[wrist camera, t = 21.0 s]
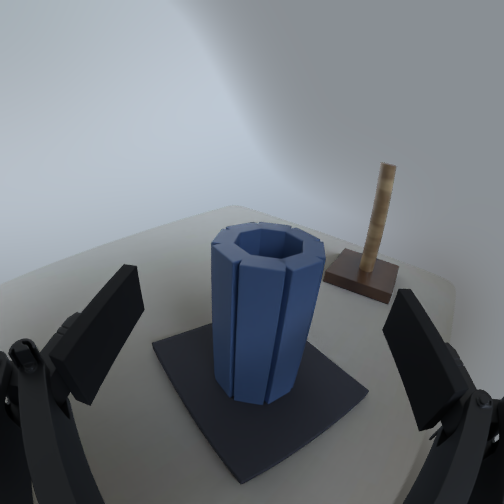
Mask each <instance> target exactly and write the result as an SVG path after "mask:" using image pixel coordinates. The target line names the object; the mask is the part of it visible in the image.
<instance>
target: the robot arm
mask: <svg viewBox="0 0 504 504" xmlns="http://www.w3.org/2000/svg"><path fill="white" fill-rule="evenodd" d="M144 310H145V309H144V304H143V299H142V294H141V288H140V283H139V277H138V271H137V266H133V265H125V264H124V265H123V266H122V267H121V268H120V269H119V270H118V271H117V272H116V273H115V275H114V276H113V277H112V278H111V279H110V280H109V281H108V282H107V283H106V285H105V286H104V287H103V288H102V289H101V290H100V291H99V293H98V294H97V295H96V296H95V297H94V298H93V299H92V301H91V302H90V303H89V304H88V305H87V307H86V308H85V309H84V310H83V311H82V312H81V313H78V312H76V313H75V314H73V315H72V316H70V317H68V318H67V319H66V321H65V322H64V323H63V324H62V327H60V328H59V329H58V330H57V333H55V334H54V335H53V337H52V338H51V339H50V340H49V342H48V343H47V344H46V346H45V347H44V348H43V349H42V351H41V352H40V353H39V351H38V349H37V347H36V345H35V343H34V342H33V341H32V340H30V339H21V340H18V341H16V342H15V343H14V344H13V345H12V346H11V348H10V349H9V353H8V354H9V356H10V358H11V359H12V361H10V360H9V359H8V357H7V355H6V354H5V353H4V352H2V351H0V504H33V495H32V484H33V487H34V491H35V494H36V497H37V500H38V503H39V504H105V503H104V500H103V498H102V496H101V494H100V492H99V490H98V487H97V485H96V483H95V480H94V478H93V475H92V473H91V470H90V468H89V465H88V462H87V459H86V457H85V454H84V451H83V448H82V445H81V441H80V438H79V435H78V431H77V428H76V424H75V421H74V417H73V413H72V409H71V404H70V401H69V399H68V395H69V394H70V392H71V393H72V395H73V396H74V398H75V399H76V400H78V401H80V402H82V403H85V404H87V405H90V406H91V404H92V402H93V400H94V398H95V396H96V394H97V392H98V390H99V388H100V386H101V385H102V383H103V381H104V379H105V377H106V375H107V373H108V372H109V370H110V368H111V366H112V364H113V363H114V361H115V359H116V357H117V356H118V354H119V352H120V350H121V349H122V347H123V345H124V343H125V342H126V340H127V338H128V337H129V335H130V333H131V331H132V330H133V328H134V326H135V325H136V323H137V321H138V320H139V318H140V316H141V315H142V313H143V312H144ZM382 331H383V333H384V335H385V338H386V340H387V343H388V345H389V348H390V350H391V353H392V355H393V358H394V360H395V363H396V365H397V368H398V371H399V373H400V376H401V379H402V381H403V384H404V387H405V390H406V393H407V396H408V398H409V401H410V404H411V407H412V410H413V414H414V417H415V420H416V423H417V426H418V430H419V431H423V430H427V429H431V428H433V427H434V426H435V425H436V424H437V423H438V422H439V421H440V420H441V423H442V426H441V427H440V428H439V429H438V430H437V431H436V432H435V433H434V434H433V435H432V436H431V437H430V439H429V440H432V439H433V438H434V437H435V436H436V438H435V440H434V443H433V445H432V447H431V450H430V452H429V454H428V456H427V459H426V461H425V463H424V465H423V467H422V469H421V471H420V473H419V475H418V477H417V479H416V481H415V483H414V485H413V487H412V488H411V490H410V492H409V494H408V495H407V497H406V499H405V500H404V502H403V504H504V397H503V398H502V399H501V400H498V399H492V398H491V396H490V395H489V394H488V393H487V392H486V391H484V390H477V389H476V387H475V385H474V384H473V381H472V379H471V378H470V375H469V374H468V372H467V370H466V368H465V366H463V363H462V361H461V360H460V357H459V355H458V354H457V352H456V350H455V349H454V348H453V347H452V346H451V345H450V344H449V343H444V341H443V339H442V337H441V336H440V334H439V332H438V331H437V329H436V327H435V326H434V324H433V323H432V321H431V319H430V318H429V316H428V315H427V313H426V312H425V310H424V308H423V307H422V305H421V304H420V302H419V301H418V299H417V298H416V296H415V295H414V293H413V292H412V290H411V289H398V292H397V295H396V298H395V300H394V303H393V305H392V308H391V310H390V313H389V315H388V318H387V320H386V322H385V325H384V327H383V329H382ZM6 397H7V398H8V402H7V404H6V403H5V399H6ZM498 434H499V440H498V441H496V442H495V440H494V437H495V436H496V435H498ZM31 480H32V483H31Z"/></svg>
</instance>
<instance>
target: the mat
mask: <svg viewBox="0 0 504 504" xmlns="http://www.w3.org/2000/svg"><path fill="white" fill-rule="evenodd" d="M152 345H153V349H154V351H155V353H156V355H157V357H158V359H159V361H160V363H161V365H162V366H163V368H164V370H165V372H166V374H167V376H168V377H169V379H170V381H171V383H172V385H173V386H174V388H175V390H176V392H177V393H178V395H179V397H180V398H181V400H182V402H183V403H184V405H185V407H186V408H187V410H188V411H189V413H190V415H191V416H192V418H193V419H194V421H195V422H196V424H197V425H198V427H199V429H200V430H201V432H202V433H203V434H204V436H205V437H206V439H207V440H208V442H209V443H210V445H211V446H212V447H213V449H214V450H215V452H216V453H217V454H218V456H219V457H220V458H221V460H222V461H223V462H224V464H225V465H226V466H227V468H228V469H229V470H230V471H231V473H232V474H233V475H234V476H235V478H236V479H237V480H238V481H239V483H240V484H243V483H245V482H247V481H249V480H251V479H252V478H254V477H256V476H258V475H260V474H261V473H263V472H265V471H266V470H268V469H270V468H272V467H273V466H275V465H276V464H278V463H280V462H281V461H283V460H284V459H286V458H287V457H289V456H291V455H292V454H294V453H295V452H296V451H298V450H299V449H301V448H302V447H304V446H305V445H307V444H308V443H309V442H311V441H312V440H313V439H315V438H316V437H318V436H319V435H320V434H321V433H323V432H324V431H325V430H327V429H328V428H329V427H330V426H332V425H333V424H334V423H335V422H337V421H338V420H339V419H340V418H342V417H343V416H344V415H345V414H346V413H347V412H349V411H350V410H351V409H352V408H353V407H354V406H356V405H357V404H358V403H359V402H360V401H361V400H362V399H363V398H364V397H365V396H366V395H367V393H368V392H369V390H367V389H366V388H365V387H364V386H362V385H361V384H360V383H359V382H357V381H356V380H355V379H353V378H352V377H351V376H350V375H348V374H347V373H346V372H345V371H343V370H342V369H341V368H340V367H338V366H337V365H336V364H335V363H333V362H332V361H331V360H330V359H329V358H327V357H326V356H325V355H324V354H322V353H321V352H320V351H319V350H318V349H316V348H315V347H314V346H313V345H311V344H310V343H309V342H308V341H307V340H306V344H305V348H304V351H303V355H302V358H301V362H300V365H299V369H298V372H297V375H296V379H295V382H294V385H293V388H291V390H290V392H288V393H287V394H285V395H283V396H282V397H280V398H278V399H276V400H275V401H273V402H271V403H269V404H267V403H266V402H265V400H264V403H263V405H259V404H253V403H247V402H241V401H236V400H234V396H232V397H229V396H228V395H227V394H226V392H225V391H224V390H223V389H222V387H221V386H220V385H219V383H218V382H217V381H216V379H215V374H214V355H213V328H212V323H211V324H208V325H205V326H202V327H199V328H196V329H193V330H190V331H187V332H184V333H181V334H178V335H175V336H172V337H169V338H166V339H163V340H159V341H156V342H153V343H152Z"/></svg>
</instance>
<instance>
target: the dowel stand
mask: <svg viewBox="0 0 504 504" xmlns="http://www.w3.org/2000/svg"><path fill="white" fill-rule="evenodd" d="M395 171H396V166H395V165H392V164H388V163H383V162H381V166H380V171H379V177H378V183H377V189H376V195H375V200H374V205H373V210H372V215H371V220H370V225H369V229H368V233H367V238H366V242H365V246H364V250H363V254H361V253H358V252H355V251H352V250H349V249H346V248H345V249H344V250H343V251H342V252H341V254H340V255H339V256H338V257H337V258H336V260H335V261H334V262H333V263H332V264H331V266H330V267H329V268H328V269H327V270H326V272H325V276H324V281H325V282H328V283H331V284H333V285H336V286H339V287H342V288H344V289H347V290H350V291H353V292H356V293H358V294H361V295H364V296H367V297H370V298H372V299H375V300H378V301H381V302H383V303H386V304H388V303H389V301H390V298H391V295H392V292H393V288H394V284H395V280H396V276H397V272H398V268H399V266H397V265H394V264H392V263H389V262H386V261H383V260H380V259H377V258H376V257H377V254H378V250H379V246H380V242H381V238H382V234H383V230H384V226H385V222H386V218H387V213H388V208H389V203H390V199H391V194H392V188H393V183H394V177H395Z"/></svg>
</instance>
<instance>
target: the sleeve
mask: <svg viewBox="0 0 504 504" xmlns="http://www.w3.org/2000/svg"><path fill="white" fill-rule="evenodd" d="M325 260H326V256H325V250H324V243H323V242H320V239H318V238H316V237H314V236H312V235H310V234H308V233H306V232H304V231H302V230H300V229H298V228H292V229H291V226H289V225H281V224H273V223H266V222H259V224H257V223H255V222H250V223H245V224H239V225H233V226H228V227H226V229H221V231H220V232H219V233H218V235H217V236H216V237H215V238H214V240H213V241H212V243H211V284H212V328H213V355H214V374H215V379H216V381H217V382H218V383H219V385H220V386H221V387H222V389H223V390H224V391H225V392H226V394H227V395H228V396H229V397H232V396H234V400H236V401H241V402H247V403H253V404H259V405H263V403H264V400H265V402H266V403H267V404H269V403H271V402H273V401H275V400H276V399H278V398H280V397H282V396H283V395H285V394H287V393H288V392H290V390H291V388H293V385H294V382H295V379H296V375H297V372H298V369H299V365H300V362H301V358H302V355H303V351H304V348H305V344H306V340H307V336H308V333H309V329H310V325H311V321H312V317H313V313H314V309H315V305H316V301H317V296H318V292H319V288H320V283H321V279H322V274H323V270H324V265H325Z"/></svg>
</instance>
